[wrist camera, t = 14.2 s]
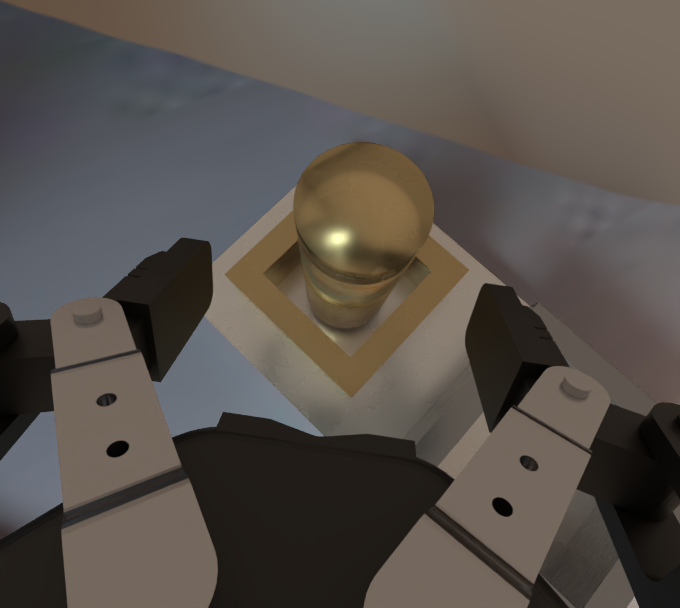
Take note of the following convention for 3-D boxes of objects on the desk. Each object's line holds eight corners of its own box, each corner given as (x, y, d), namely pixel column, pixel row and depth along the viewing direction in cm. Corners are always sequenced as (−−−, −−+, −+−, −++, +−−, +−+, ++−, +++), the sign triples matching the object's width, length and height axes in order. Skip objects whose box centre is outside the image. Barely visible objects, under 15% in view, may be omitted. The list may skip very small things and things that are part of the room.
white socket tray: (188, 297, 22) (156, 275, 18) (340, 156, 25) (342, 107, 20) (538, 647, 19) (594, 714, 15) (679, 448, 21) (762, 460, 17)
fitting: (290, 291, 21) (263, 206, 12) (343, 238, 22) (359, 117, 12) (347, 345, 21) (368, 303, 11) (399, 289, 22) (462, 204, 12)
